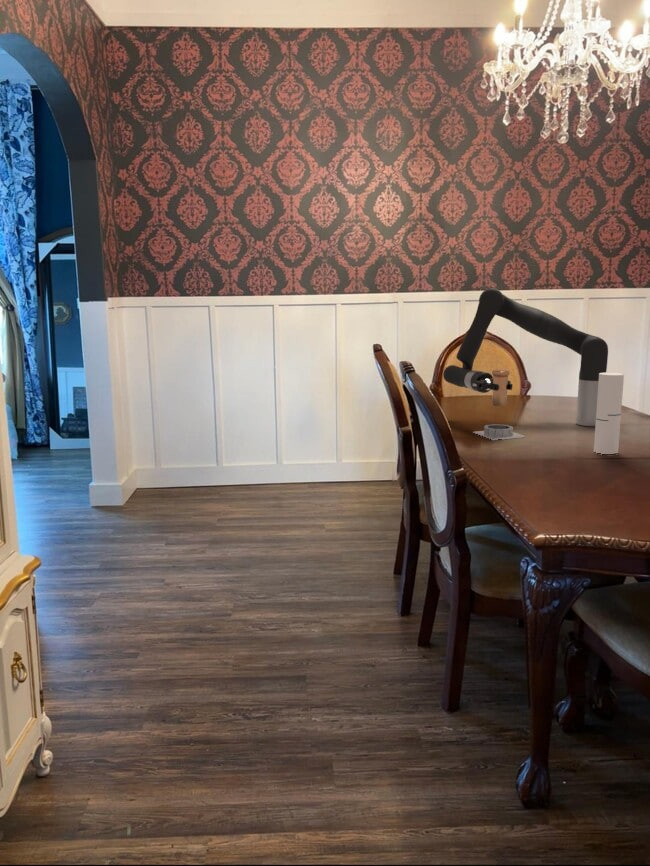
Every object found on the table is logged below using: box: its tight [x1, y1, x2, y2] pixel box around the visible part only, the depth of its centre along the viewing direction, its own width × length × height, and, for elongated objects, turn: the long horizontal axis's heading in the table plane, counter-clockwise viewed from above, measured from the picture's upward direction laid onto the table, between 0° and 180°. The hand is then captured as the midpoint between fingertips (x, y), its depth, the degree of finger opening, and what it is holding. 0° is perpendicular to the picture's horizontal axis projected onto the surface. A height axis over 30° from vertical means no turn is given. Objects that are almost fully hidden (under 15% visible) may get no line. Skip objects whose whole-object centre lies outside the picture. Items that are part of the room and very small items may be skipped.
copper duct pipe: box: [491, 369, 510, 407], centre depth 244 cm, size 6×6×12 cm
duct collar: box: [472, 423, 526, 441], centre depth 247 cm, size 13×13×3 cm
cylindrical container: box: [593, 372, 625, 455], centre depth 217 cm, size 7×7×25 cm
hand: (504, 387), depth 241 cm, fingers closed on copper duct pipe, 5 cm apart
